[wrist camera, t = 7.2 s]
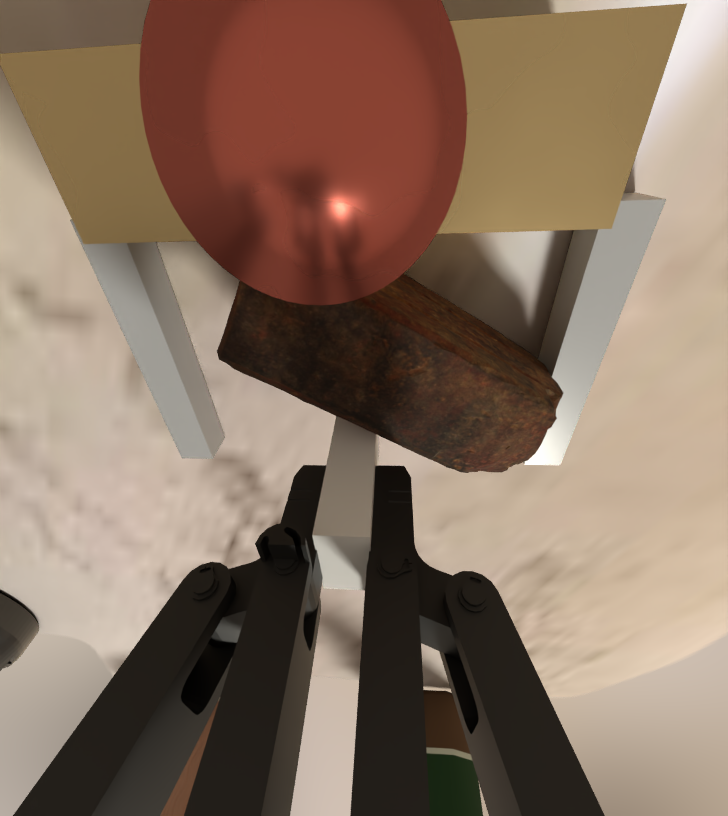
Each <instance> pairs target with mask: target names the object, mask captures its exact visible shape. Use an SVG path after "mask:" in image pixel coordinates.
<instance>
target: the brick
mask: <svg viewBox="0 0 728 816" xmlns="http://www.w3.org/2000/svg"><path fill="white" fill-rule="evenodd" d="M217 353H218V357H219V360H221V361H223V362H225V363H227V364H228V365H230V366H231V367H232V368H234V369H236V370H238V371H240V372H242V373H244V374H246V375H248V376H251V377H253V378H256V379H258V380H260V381H263V382H265V383H267V384H269V385H272V386H274V387H276V388H278V389H281V390H283V391H285V392H287V393H289V394H291V395H293V396H295V397H297V398H299V399H300V400H302V401H304V402H306V403H309V404H312V405H314V406H316V407H318V408H321V409H323V410H325V411H327V412H329V413H331V414H333V415H336V416H338V417H340V418H342V419H344V420H346V421H349V422H351V423H353V424H355V425H357V426H359V427H362V428H364V429H366V430H368V431H370V432H372V433H374V434H376V435H379V436H381V437H383V438H385V439H388V440H390V441H392V442H394V443H396V444H398V445H400V446H402V447H404V448H406V449H409V450H411V451H413V452H415V453H417V454H419V455H422V456H424V457H426V458H428V459H431V460H433V461H436V462H438V463H440V464H442V465H444V466H446V467H448V468H451V469H455V470H457V471H459V472H464V473H468V472H478V471H486V472H503V471H506V470H507V469H508V468H509V467H511V466H513V465H515V464H520V463H522V462H524V461H528V460H529V459H530V458H531V457H532V456H533V455H534V454H535V453H536V452H537V450H538V449H539V447H540V446H541V444H542V442H543V440H544V437H545V435H546V433H547V430H548V429H549V428H551V427H552V425H553V424H554V422H555V421H556V419H557V417H556V409H557V406H558V404H559V402H560V399H561V398H562V396H563V391H562V389H561V388H560V386H559V385H558V383H557V382H556V381H555V380H554V379H553V378H552V377H551V375H550V373H549V372H548V369H547V367H546V366H545V364H544V363H542V362H541V361H540V360H538V359H537V358H535V357H534V356H533V355H531V354H530V353H529V352H527V351H526V350H524V349H523V348H521V347H520V346H518V345H517V344H515V343H514V342H512V341H511V340H509V339H507V338H506V337H504V336H503V335H502V334H501V333H499V332H498V331H496V330H494V329H493V328H491V327H490V326H488V325H486V324H485V323H483V322H481V321H480V320H478V319H477V318H475V317H473V316H472V315H470V314H468V313H467V312H465V311H463V310H462V309H460V308H459V307H457V306H456V305H454V304H452V303H451V302H449V301H448V300H446V299H444V298H443V297H441V296H439V295H438V294H436V293H434V292H433V291H431V290H428V289H427V288H425V287H424V286H422V285H421V284H419V283H418V282H416V281H415V280H413V279H411V278H410V277H408V276H406V275H404V274H402V275H401V276H400V277H398V278H397V279H396V280H394V281H393V282H391V283H390V284H388V285H387V286H385V287H384V288H382V289H380V290H378V291H376V292H374V293H372V294H370V295H368V296H365V297H362V298H359V299H357V300H354V301H349V302H345V303H340V304H332V305H305V304H299V303H293V302H288V301H285V300H281V299H278V298H275V297H272V296H269V295H267V294H265V293H263V292H260V291H258V290H256V289H254V288H252V287H251V286H249V285H247V284H246V283H244V282H242V281H240V282H239V286H238V290H237V293H236V296H235V299H234V302H233V305H232V308H231V311H230V314H229V318H228V321H227V324H226V327H225V331H224V334H223V337H222V339H221V342H220V345H219V347H218V350H217Z"/></svg>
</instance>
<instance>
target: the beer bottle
mask: <svg viewBox="0 0 728 816" xmlns="http://www.w3.org/2000/svg"><path fill="white" fill-rule="evenodd" d="M423 692H424V711H425V730H426V749H427V768H428V788H429V807H430V816H483V812H482V805H481V797H480V790H479V782H478V777H477V774H476V771H475V767H474V764H473V761H472V757H471V754H470V751H469V747H468V744H467V741H466V738H465V734H464V731H463V728H462V724H461V721H460V718H459V714H458V711H457V708H456V704H455V701H454V698H453V695H452V693H450V692H447V691H431V690H430V691H429V690H423Z"/></svg>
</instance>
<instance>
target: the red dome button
mask: <svg viewBox="0 0 728 816" xmlns="http://www.w3.org/2000/svg"><path fill="white" fill-rule="evenodd" d="M686 5H687V4H676V5H662V6H648V7H635V8H621V9H607V10H593V11H580V12H566V13H552V14H539V15H525V16H511V17H498V18H484V19H470V20H456V21H449V18H448V16H447V13H446V11H445V8H444V6H443V4H442V1H441V0H151V1H150V4H149V8H148V11H147V15H146V18H145V23H144V29H143V35H142V42H141V44H128V45H114V46H100V47H86V48H73V49H59V50H45V51H32V52H18V53H4V54H0V66H1V68H2V70H3V72H4V74H5V76H6V79H7V81H8V83H9V85H10V87H11V89H12V91H13V94H14V96H15V98H16V100H17V102H18V104H19V106H20V109H21V111H22V113H23V115H24V117H25V119H26V121H27V124H28V126H29V128H30V130H31V132H32V134H33V136H34V139H35V141H36V143H37V145H38V147H39V149H40V151H41V154H42V156H43V158H44V160H45V162H46V164H47V166H48V169H49V171H50V173H51V175H52V177H53V179H54V181H55V184H56V186H57V188H58V190H59V192H60V194H61V196H62V199H63V201H64V203H65V205H66V207H67V209H68V211H69V214H70V216H71V218H72V220H73V222H74V224H75V226H76V229H77V231H78V233H79V235H80V237H81V239H82V242H83V244H106V243H140V242H175V241H197V242H198V243H199V244H200V245H201V246H202V247H203V248H204V250H205V251H206V252H207V253H208V254H209V255H210V256H211V257H212V258H213V259H214V260H215V261H216V262H218V263H219V264H220V265H221V266H222V267H223V268H224V269H225V270H227V271H228V272H229V273H231V274H232V275H233V276H235V277H236V278H238V279H239V280H240V281H242V282H244V283H246V284H247V285H249V286H251V287H252V288H254V289H256V290H258V291H260V292H263V293H265V294H267V295H269V296H272V297H275V298H278V299H281V300H285V301H288V302H293V303H299V304H305V305H332V304H340V303H345V302H349V301H354V300H357V299H359V298H362V297H365V296H368V295H370V294H372V293H374V292H376V291H378V290H380V289H382V288H384V287H385V286H387V285H388V284H390V283H391V282H393V281H394V280H396V279H397V278H398V277H400V276H401V275H402V274H403V273H404V272H405V271H406V270H407V269H409V268H410V267H411V266H412V265H413V264H414V263H415V262H416V260H417V259H418V258H419V257H420V256H421V255H422V254H423V252H424V251H425V250H426V249H427V247H428V246H429V244H430V243H431V241H432V240H433V238H434V237H435V235H436V234H450V233H485V232H519V231H554V230H588V229H612V226H613V223H614V220H615V217H616V214H617V211H618V208H619V205H620V202H621V199H622V196H623V193H624V190H625V187H626V184H627V181H628V178H629V175H630V172H631V169H632V166H633V163H634V160H635V157H636V154H637V151H638V148H639V145H640V142H641V139H642V136H643V133H644V130H645V127H646V124H647V121H648V118H649V115H650V112H651V109H652V106H653V103H654V100H655V97H656V94H657V91H658V88H659V85H660V82H661V79H662V76H663V74H664V71H665V68H666V65H667V62H668V59H669V56H670V53H671V50H672V47H673V44H674V41H675V38H676V35H677V32H678V29H679V26H680V23H681V20H682V17H683V14H684V11H685V8H686Z"/></svg>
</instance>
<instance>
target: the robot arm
mask: <svg viewBox="0 0 728 816" xmlns="http://www.w3.org/2000/svg"><path fill="white" fill-rule="evenodd" d="M378 465H379V435H376V434H374V433H372V432H370V431H368V430H366V429H364V428H362V427H359V426H357V425H355V424H353V423H351V422H349V421H346V420H344V419H342V418H340V417H338V416H336V421H335V426H334V431H333V436H332V441H331V446H330V451H329V456H328V461H327V465H326V466H319V465H303V466H302V468H301V469H300V470H299V471H298V472H297V474H296V475H295V476H294V479H293V483H292V486H291V491H290V493H289V496H288V502H287V503H286V507H285V510H284V513H283V517H282V520H281V524H276V525H274V526H272V527H270V528H268V529H266V530H265V531H264V532H263V533H262V534H261V535H260V536H259V538H258V540H257V542H256V543H255V545H256V547H257V550H258V553H259V555H260V559H258V560H256V561H254V562H251V563H249V564H245V565H241V566H238V567H234V568H231V569H228V568H227V567H226V566H224V565H223V564H221V563H216V562H210V563H206V564H202V565H200V566H198V567H197V568H195V569H194V570H192V571H191V572H190V573H189V574H188V575H187V576H186V577H185V578H184V579H183V581H182V582H181V583H180V585H179V586H178V588H177V589H176V590H175V592H174V593H173V595H172V596H171V597H170V599H169V600H168V602H167V603H166V604H165V606H164V607H163V608H162V610H161V611H160V613H159V614H158V615H157V617H156V618H155V620H154V621H153V622H152V624H151V625H150V626H149V628H148V629H147V631H146V632H145V633H144V635H143V636H142V638H141V639H140V640H139V642H138V643H137V644H136V646H135V647H134V649H133V650H132V651H131V653H130V654H129V656H128V657H127V658H126V660H125V661H124V663H123V664H122V665H121V667H120V668H119V669H118V671H117V672H116V674H115V675H114V676H113V678H112V679H111V681H110V682H109V683H108V685H107V686H106V688H105V689H104V690H103V692H102V693H101V694H100V696H99V697H98V699H97V700H96V702H95V703H94V704H93V706H92V707H91V708H90V710H89V711H88V712H87V714H86V715H85V717H84V718H83V719H82V721H81V722H80V724H79V725H78V726H77V728H76V729H75V731H74V732H73V733H72V735H71V736H70V738H69V739H68V740H67V742H66V743H65V744H64V746H63V747H62V749H61V750H60V751H59V753H58V754H57V755H56V757H55V758H54V760H53V761H52V762H51V764H50V765H49V767H48V768H47V769H46V771H45V772H44V773H43V775H42V776H41V778H40V779H39V780H38V782H37V783H36V785H35V786H34V787H33V789H32V790H31V791H30V793H29V794H28V796H27V797H26V798H25V800H24V801H23V803H22V804H21V805H20V807H19V808H18V810H17V811H16V812H15V814H14V815H13V816H160V815H161V813H162V811H163V809H164V807H165V805H166V803H167V801H168V799H169V797H170V795H171V793H172V791H173V789H174V787H175V785H176V783H177V781H178V779H179V777H180V775H181V773H182V771H183V769H184V767H185V765H186V763H187V761H188V759H189V758H190V756H191V754H192V752H193V750H194V748H195V746H196V744H197V742H198V740H199V738H200V736H201V734H202V732H203V730H204V728H205V726H206V724H207V722H208V720H209V718H210V716H211V714H212V712H213V710H214V708H215V706H216V704H217V702H218V700H219V703H218V706H217V709H216V712H215V716H214V719H213V722H212V725H211V729H210V732H209V735H208V738H207V742H206V745H205V748H204V751H203V755H202V758H201V761H200V764H199V768H198V771H197V774H196V777H195V781H194V784H193V787H192V790H191V794H190V797H189V800H188V803H187V807H186V810H185V813H184V816H290V811H291V805H292V798H293V791H294V785H295V778H296V771H297V765H298V758H299V752H300V745H301V739H302V732H303V725H304V718H305V711H306V705H307V699H308V692H309V686H310V679H311V672H312V666H313V659H314V652H315V646H316V639H317V633H318V626H319V619H320V613H321V601H320V592H321V586H322V583H323V588H324V589H346V590H365V601H364V616H363V631H362V647H361V662H360V678H359V693H358V708H357V724H356V725H357V726H356V739H355V754H354V770H353V785H352V801H351V816H430V807H429V788H428V768H427V749H426V730H425V711H424V692H423V673H422V654H421V643H423V644H425V645H427V646H429V647H432V648H434V649H436V650H438V651H439V652H440V655H441V658H442V661H443V665H444V668H445V671H446V675H447V678H448V681H449V685H450V688H451V691H452V695H453V698H454V701H455V704H456V708H457V711H458V714H459V718H460V721H461V724H462V728H463V731H464V734H465V738H466V741H467V744H468V747H469V751H470V754H471V757H472V761H473V764H474V767H475V771H476V774H477V777H478V781H479V784H480V787H481V790H482V793H483V797H484V800H485V804H486V807H487V810H488V814H489V816H604V813H603V811H602V809H601V807H600V805H599V803H598V801H597V799H596V797H595V794H594V792H593V790H592V788H591V786H590V784H589V782H588V780H587V778H586V775H585V773H584V771H583V769H582V767H581V765H580V763H579V761H578V759H577V756H576V754H575V752H574V750H573V748H572V746H571V744H570V742H569V740H568V737H567V735H566V733H565V731H564V729H563V727H562V725H561V723H560V721H559V718H558V717H557V714H556V712H555V710H554V708H553V706H552V704H551V702H550V700H549V697H548V695H547V693H546V691H545V689H544V687H543V685H542V683H541V681H540V678H539V676H538V674H537V672H536V670H535V668H534V666H533V664H532V662H531V659H530V657H529V655H528V653H527V651H526V649H525V647H524V645H523V643H522V640H521V638H520V636H519V634H518V632H517V630H516V628H515V626H514V624H513V622H512V619H511V617H510V615H509V613H508V611H507V609H506V607H505V605H504V603H503V600H502V598H501V596H500V594H499V592H498V590H497V589H496V588H495V586H494V585H493V583H492V582H491V581H490V580H488V579H487V578H486V577H485V576H483V575H481V574H478V573H476V572H473V571H462V572H459V573H457V574H455V575H453V576H452V575H450V574H447V573H444V572H441V571H439V570H436V569H434V568H432V567H430V566H429V565H427V564H426V563H425V562H424V561H423V560H422V559H421V558H420V557H419V555H418V553H417V551H416V549H415V544H414V528H413V509H412V490H411V477H410V475H409V473H408V472H407V470H406V468H405V467H404V466H378ZM38 631H39V625H38V623H37V621H36V619H35V618H34V617H33V616H32V615H31V614H30V613H29V612H28V611H27V610H26V609H24V608H23V607H22V606H20V605H19V604H17V603H16V602H14V601H13V600H11V599H10V598H8V597H6V596H4V595H2V594H1V593H0V671H1V670H2V668H5V667H8V666H10V665H12V664H13V663H14V662H15V661H16V660H17V659H18V658H19V657H20V656H21V655H22V654H23V652H24V651H25V649H26V648H27V647H28V645H29V644H30V643H31V641H32V640H33V639H34V637H35V636H36V634H37V633H38ZM219 698H220V699H219Z"/></svg>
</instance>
